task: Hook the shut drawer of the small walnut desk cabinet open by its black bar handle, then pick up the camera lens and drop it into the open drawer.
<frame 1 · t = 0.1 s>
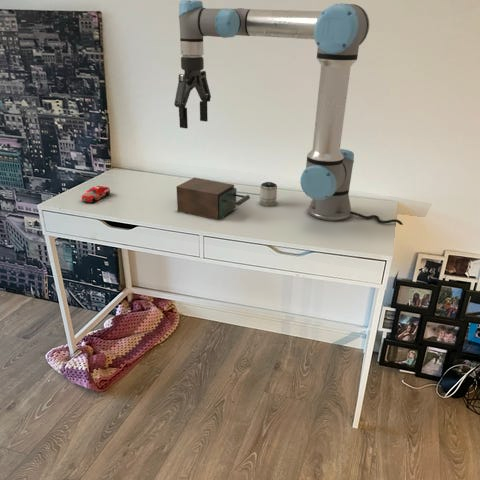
hand: (194, 124, 171), 28 cm above the table, tool pointing down, fingers open, 13 cm apart
camera lens: (267, 204, 186), on the table
race car: (96, 198, 187), on the table
chocolate bar: (207, 190, 197), on the table
drawer: (217, 200, 174), point 5 cm above the table, slide at 0.0 cm, touching cabinet
cabinet: (205, 210, 178), on the table
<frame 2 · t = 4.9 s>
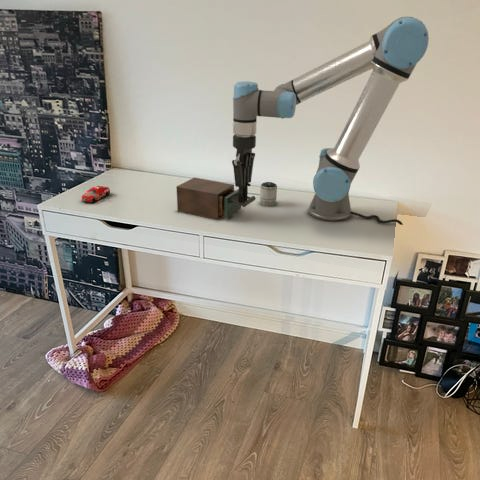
hand: (242, 204, 170), 5 cm above the table, tool pointing down, fingers closed
drawer: (223, 201, 173), point 5 cm above the table, slide at 2.2 cm, touching gripper
everything else where it was.
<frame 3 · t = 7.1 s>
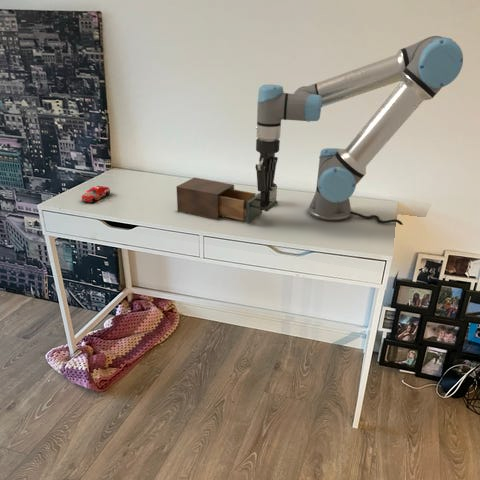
hand: (264, 209, 167), 5 cm above the table, tool pointing down, fingers closed
drawer: (244, 205, 170), point 5 cm above the table, slide at 10.7 cm
everything else where it was.
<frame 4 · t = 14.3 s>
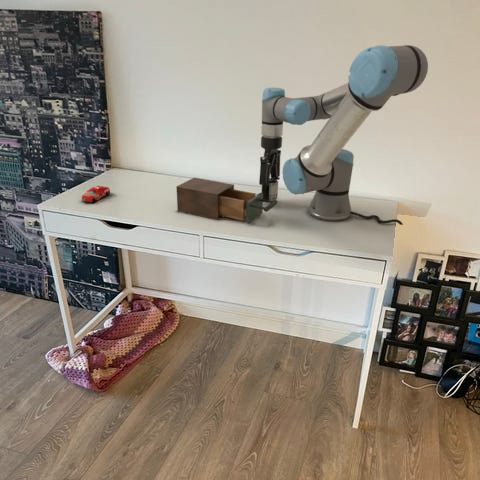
hand: (268, 199, 184), 2 cm above the table, tool pointing down, fingers closed on camera lens, 6 cm apart
camera lens: (269, 200, 184), point 1 cm above the table, touching gripper
everything else where it was.
when the fingers open (5 cm above the table, at t = 20.6 s): camera lens stays where it is, point 4 cm above the table.
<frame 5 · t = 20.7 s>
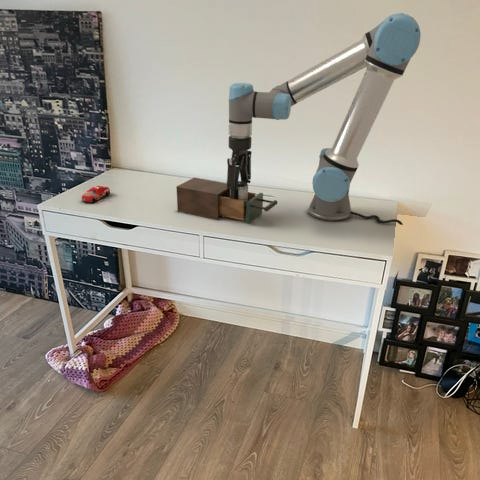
hand: (238, 204, 171), 5 cm above the table, tool pointing down, fingers open, 6 cm apart
camera lens: (238, 205, 171), point 4 cm above the table
everything else where it was.
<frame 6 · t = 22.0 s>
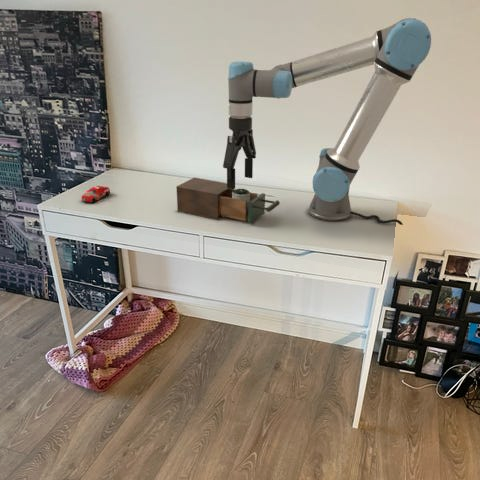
hand: (240, 182, 166), 13 cm above the table, tool pointing down, fingers open, 13 cm apart
camera lens: (240, 212, 172), point 2 cm above the table, touching drawer
drawer: (246, 206, 170), point 5 cm above the table, slide at 11.5 cm, touching camera lens
everything else where it was.
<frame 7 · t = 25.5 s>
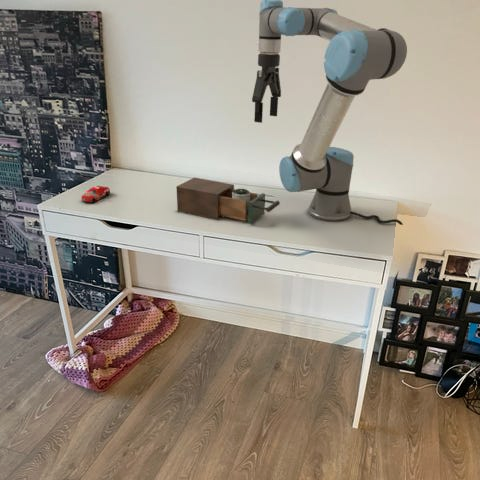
hand: (266, 119, 178), 29 cm above the table, tool pointing down, fingers open, 13 cm apart
nothing on the table moved.
at the end: drawer slide at 11.5 cm; camera lens inside the target area in the cabinet (8.1 cm from its centre), point 1.9 cm above the cabinet's base; the gripper is holding nothing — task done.
